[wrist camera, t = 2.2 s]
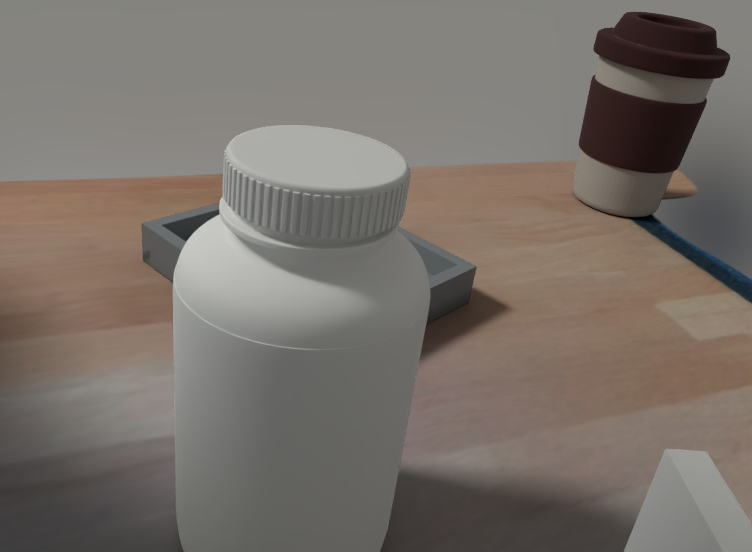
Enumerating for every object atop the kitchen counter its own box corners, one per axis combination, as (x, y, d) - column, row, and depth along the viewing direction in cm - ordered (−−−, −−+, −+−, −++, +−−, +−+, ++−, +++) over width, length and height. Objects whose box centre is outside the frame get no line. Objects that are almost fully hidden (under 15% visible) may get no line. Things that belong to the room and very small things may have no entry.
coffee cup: (623, 177, 68) (676, 11, 60) (697, 224, 60) (768, 39, 52) (534, 179, 64) (578, 3, 57) (600, 229, 56) (662, 32, 49)
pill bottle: (388, 461, 31) (449, 128, 24) (382, 630, 24) (464, 233, 17) (206, 438, 31) (210, 95, 24) (146, 602, 24) (126, 188, 17)
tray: (142, 260, 43) (141, 223, 42) (303, 211, 52) (306, 179, 51) (311, 384, 35) (315, 342, 34) (468, 302, 44) (476, 266, 43)
